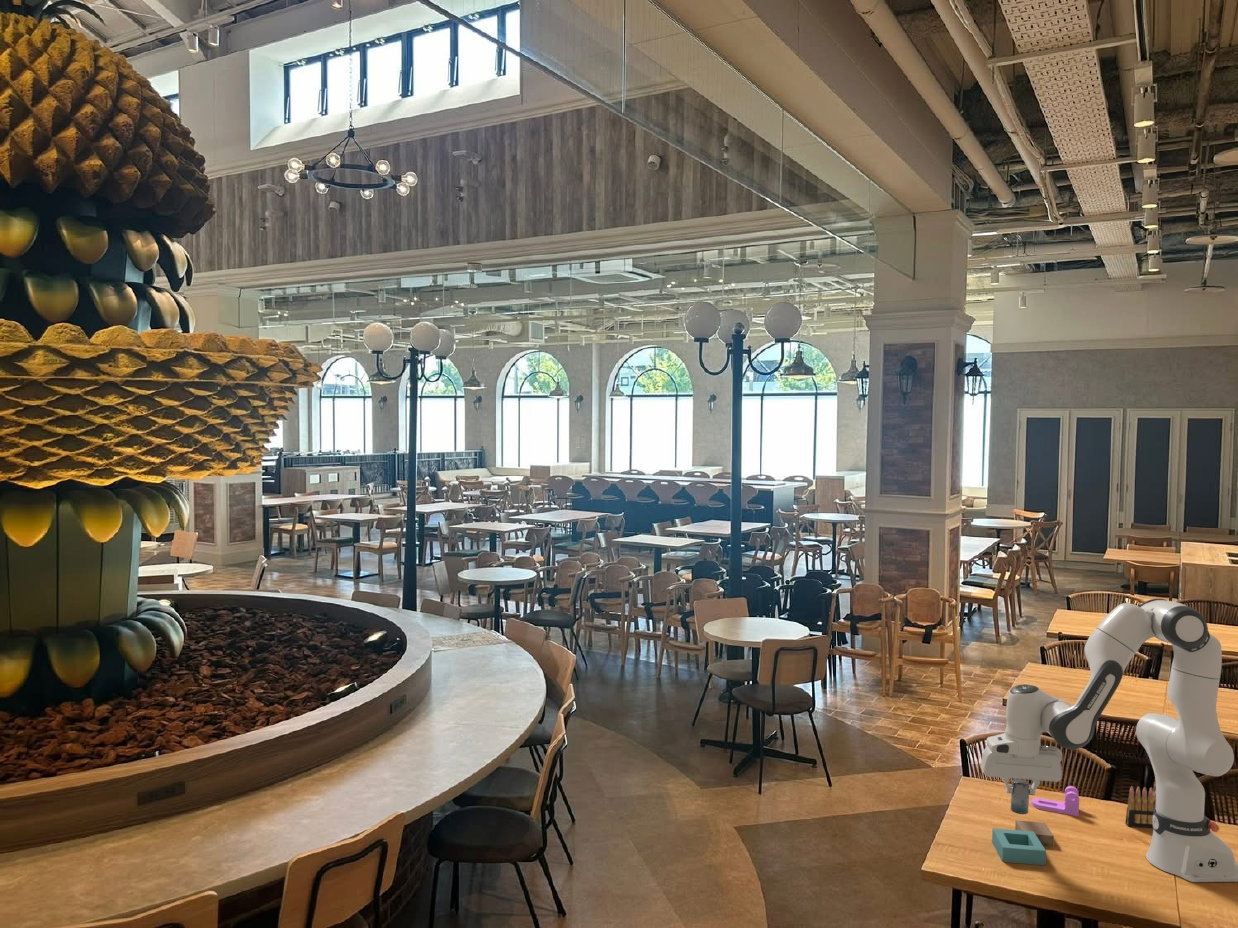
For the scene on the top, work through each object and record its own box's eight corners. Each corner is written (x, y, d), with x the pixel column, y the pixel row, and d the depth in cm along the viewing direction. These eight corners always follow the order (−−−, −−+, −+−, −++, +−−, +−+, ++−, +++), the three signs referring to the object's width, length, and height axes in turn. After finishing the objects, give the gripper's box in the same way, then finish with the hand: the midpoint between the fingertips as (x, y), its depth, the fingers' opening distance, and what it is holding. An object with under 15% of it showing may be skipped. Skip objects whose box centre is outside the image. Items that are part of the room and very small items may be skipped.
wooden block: (1044, 832, 256) (1044, 822, 256) (1053, 845, 248) (1053, 835, 248) (1015, 830, 257) (1015, 820, 257) (1023, 843, 249) (1023, 833, 249)
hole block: (1033, 845, 248) (1033, 831, 248) (1045, 865, 237) (1045, 850, 237) (991, 841, 250) (992, 828, 250) (1002, 861, 239) (1002, 847, 239)
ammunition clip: (1164, 826, 260) (1165, 786, 260) (1166, 829, 258) (1168, 789, 258) (1125, 823, 262) (1127, 784, 261) (1128, 826, 260) (1129, 787, 259)
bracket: (1077, 809, 271) (1078, 787, 271) (1078, 816, 266) (1079, 794, 266) (1031, 800, 277) (1032, 779, 276) (1031, 807, 272) (1031, 786, 271)
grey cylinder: (1025, 807, 245) (1026, 779, 244) (1030, 814, 240) (1031, 786, 240) (1008, 806, 245) (1009, 778, 245) (1013, 813, 241) (1014, 784, 241)
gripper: (1058, 742, 243) (1056, 791, 244) (980, 737, 246) (978, 785, 247) (1066, 751, 237) (1064, 801, 238) (986, 745, 240) (984, 795, 241)
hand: (1020, 793), depth 243 cm, fingers closed on grey cylinder, 4 cm apart
